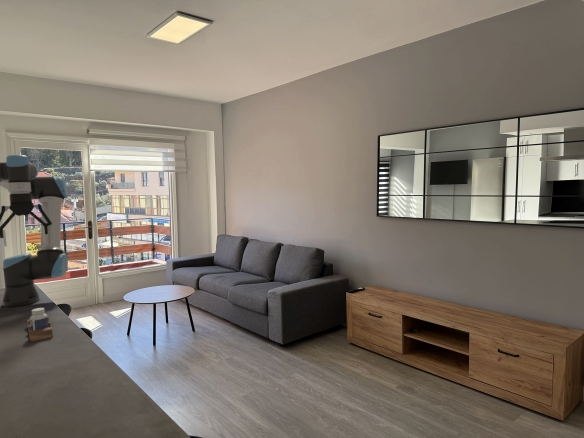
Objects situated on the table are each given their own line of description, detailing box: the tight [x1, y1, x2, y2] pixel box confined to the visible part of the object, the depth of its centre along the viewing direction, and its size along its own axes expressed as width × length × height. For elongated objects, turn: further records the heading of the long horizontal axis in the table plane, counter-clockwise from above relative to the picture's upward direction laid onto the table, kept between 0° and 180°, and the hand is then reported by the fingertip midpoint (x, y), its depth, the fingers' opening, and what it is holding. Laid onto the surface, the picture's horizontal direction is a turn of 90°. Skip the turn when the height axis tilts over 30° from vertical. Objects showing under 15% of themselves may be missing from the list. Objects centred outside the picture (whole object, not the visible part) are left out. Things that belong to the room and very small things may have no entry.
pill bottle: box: [29, 307, 48, 331], centre depth 150 cm, size 5×5×10 cm
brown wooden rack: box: [27, 315, 54, 343], centre depth 154 cm, size 20×7×3 cm, turn 35°
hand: (25, 244), depth 169 cm, fingers open, 13 cm apart
